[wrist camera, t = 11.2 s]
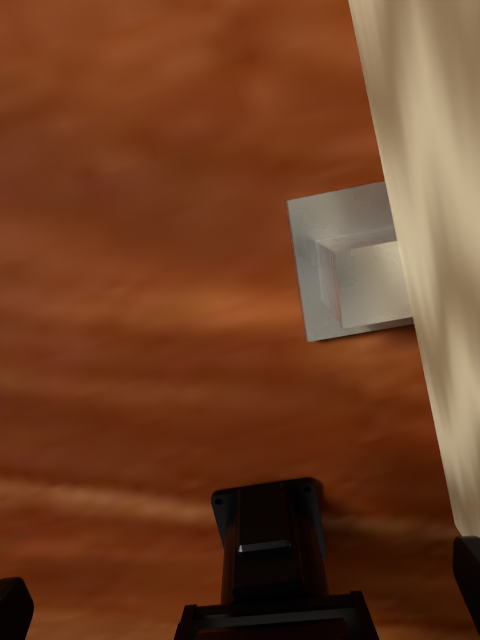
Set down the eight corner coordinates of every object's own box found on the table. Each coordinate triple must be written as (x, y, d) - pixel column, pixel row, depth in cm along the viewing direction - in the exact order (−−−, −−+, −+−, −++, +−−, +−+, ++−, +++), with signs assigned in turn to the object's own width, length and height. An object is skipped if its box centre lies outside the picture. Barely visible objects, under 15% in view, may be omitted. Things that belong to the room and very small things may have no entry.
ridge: (537, 295, 19) (636, 327, 14) (304, 335, 20) (323, 378, 15) (547, 147, 16) (668, 126, 12) (285, 200, 17) (299, 200, 13)
